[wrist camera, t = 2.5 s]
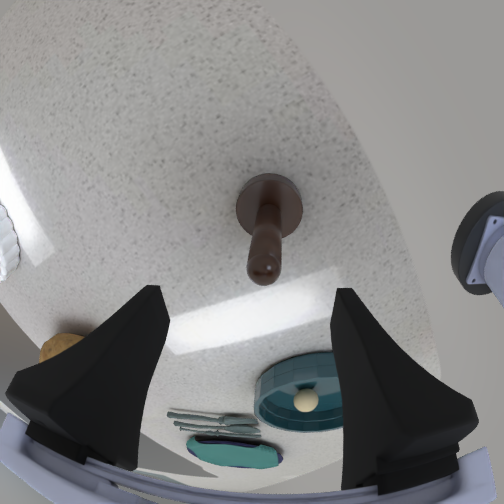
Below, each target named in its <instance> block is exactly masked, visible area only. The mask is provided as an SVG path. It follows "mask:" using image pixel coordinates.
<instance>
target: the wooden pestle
mask: <svg viewBox="0 0 504 504" xmlns="http://www.w3.org/2000/svg"><path fill="white" fill-rule="evenodd" d="M302 214H303V207H302V201H301V196H300V193H299V191H298V189H297V188H296V186H295V185H294V184H293V183H292V182H291V181H290V180H288V179H287V178H285V177H283V176H281V175H277V174H262V175H258V176H256V177H254V178H252V179H251V180H249V181H248V182H247V183H246V184H245V185H244V187H243V188H242V190H241V192H240V195H239V197H238V200H237V204H236V215H237V218H238V221H239V223H240V225H241V226H242V227H243V229H244V230H245V231H246V232H247V233H249V234H250V235H252V240H251V246H250V251H249V257H248V262H247V274H248V276H249V278H250V280H251V281H252V282H254V283H255V284H257V285H260V286H268V285H271V284H273V283H274V282H275V281H277V279H278V278H279V276H280V274H281V249H282V238H284V237H286V236H288V235H290V234H291V233H292V232H293V231H294V230H295V229H296V228H297V227H298V225H299V224H300V221H301V219H302Z"/></svg>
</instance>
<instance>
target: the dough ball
mask: <svg viewBox="0 0 504 504" xmlns="http://www.w3.org/2000/svg"><path fill="white" fill-rule="evenodd" d="M318 400H319V399H318V395H317V393H316V392H315V391H313V390H312V389H307V388H306V389H302V390H300V391H298V392H297V393H296V395H295V396H294V405H295V407H296V408H297V409H298V410H299V411H302V412H309V411H312V410H313V409H314V408H315V407H316V406H317V404H318Z"/></svg>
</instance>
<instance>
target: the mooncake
mask: <svg viewBox="0 0 504 504" xmlns="http://www.w3.org/2000/svg"><path fill="white" fill-rule="evenodd" d="M17 241H18V239H17V235H16V233H15V231H14V230H13V224H12V221H11V220H10V218H8V216H7V212H6V209H5V208H4V207H3V206H2V205H0V283H1V282H2V281H5V280H6V279H7V278H8V277H9V276H10V275H11V274H12V272H13V271H14V270H15V269H16V268H17V264H18V263H19V261H20V258H19V253H20V248H19V246H18V244H17Z"/></svg>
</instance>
